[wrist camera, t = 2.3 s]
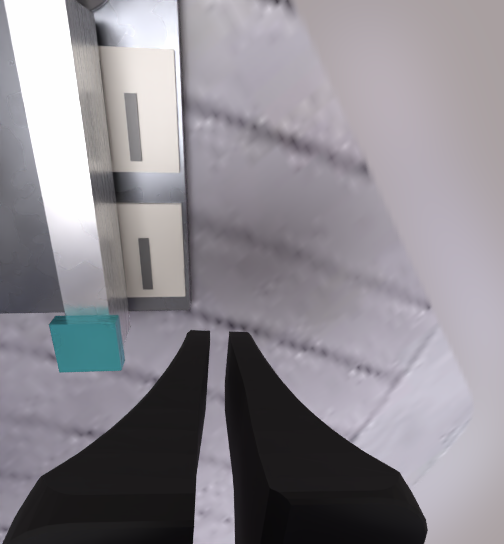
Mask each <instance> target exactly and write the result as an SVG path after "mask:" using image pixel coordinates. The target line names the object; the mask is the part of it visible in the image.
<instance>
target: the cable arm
mask: <svg viewBox="0 0 504 544" xmlns="http://www.w3.org/2000/svg"><path fill="white" fill-rule="evenodd" d="M4 4H5V9H6V14H7V19H8V24H9V29H10V34H11V39H12V45H13V50H14V55H15V60H16V65H17V70H18V75H19V80H20V86H21V91H22V96H23V101H24V106H25V111H26V116H27V121H28V126H29V132H30V137H31V142H32V147H33V152H34V157H35V162H36V167H37V172H38V178H39V183H40V188H41V193H42V198H43V203H44V208H45V213H46V218H47V224H48V229H49V234H50V239H51V244H52V249H53V254H54V259H55V264H56V270H57V275H58V280H59V285H60V290H61V295H62V300H63V305H64V310H65V316H55V317H54V319H53V320H52V321H51V323H50V324H49V327H50V331H51V336H52V341H53V345H54V350H55V354H56V359H57V363H58V368H59V372H89V371H121V370H122V367H123V364H124V362H125V358H124V350H123V346H124V343H125V340H126V338H127V335H128V332H129V330H130V327H131V326H130V317H129V309H128V300H127V291H126V283H125V274H124V266H123V257H122V249H121V240H120V232H119V223H118V214H117V206H116V197H115V189H114V180H113V172H112V163H111V155H110V146H109V137H108V129H107V120H106V112H105V103H104V95H103V86H102V78H101V69H100V60H99V52H98V43H97V35H96V26H95V18H94V14H93V13H92V12H91V11H89V10H88V9H87V8H85V7H84V6H82V5H81V4H80V3H78V2H77V1H76V0H4Z"/></svg>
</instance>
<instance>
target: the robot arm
mask: <svg viewBox="0 0 504 544" xmlns="http://www.w3.org/2000/svg"><path fill="white" fill-rule="evenodd" d="M209 349H210V331H198V330H190V331H189V332H188V333H187V335H186V338H185V340H184V342H183V344H182V346H181V348H180V349H179V351H178V353H177V355H176V356H175V358H174V359H173V361H172V362H171V364H170V365H169V367H168V368H167V369H166V371H165V372H164V373H163V375H162V376H161V377H160V379H159V380H158V381H157V382H156V384H155V385H154V386H153V387H152V389H151V390H150V391H149V392H148V393H147V394H146V395H145V397H144V398H143V399H142V400H141V401H140V402H139V403H138V404H137V405H136V406H135V407H134V408H133V409H132V410H131V411H130V412H129V413H128V414H127V415H125V416H124V417H123V418H122V419H121V420H120V421H119V422H118V423H117V424H116V425H114V426H113V427H112V428H111V429H110V430H108V431H107V432H106V433H105V434H103V435H102V436H101V437H99V438H98V439H97V440H95V441H94V442H93V443H92V444H90V445H89V446H88V447H86V448H85V449H84V450H82V451H81V452H79V453H78V454H76V455H75V456H73V457H72V458H70V459H68V460H67V461H65V462H64V463H62V464H61V465H59V466H57V467H56V468H54V469H53V470H51V471H49V472H48V473H46V474H44V475H42V476H41V477H40V478H39V480H38V481H37V483H36V484H35V486H34V487H33V489H32V490H31V492H30V493H29V495H28V497H27V498H26V500H25V502H24V503H23V505H22V506H21V508H20V509H19V511H18V513H17V515H16V516H15V518H14V520H13V522H12V524H11V526H10V528H9V531H8V533H7V535H6V537H5V539H4V541H3V543H2V544H193V532H194V514H195V494H196V474H197V467H198V460H199V453H200V446H201V439H202V432H203V425H204V418H205V410H206V395H207V380H208V365H209ZM225 415H226V424H227V432H228V441H229V449H230V457H231V466H232V474H233V486H234V515H235V544H424V542H425V538H426V534H427V531H428V530H427V523H426V519H425V517H424V515H423V513H422V511H421V509H420V507H419V505H418V503H417V501H416V499H415V497H414V496H413V494H412V492H411V490H410V488H409V487H408V485H407V484H406V482H405V481H404V479H403V477H402V476H401V474H400V472H398V471H397V470H395V469H393V468H392V467H390V466H388V465H386V464H385V463H383V462H381V461H379V460H378V459H376V458H374V457H372V456H371V455H369V454H367V453H366V452H364V451H362V450H361V449H359V448H358V447H356V446H355V445H354V444H352V443H351V442H349V441H348V440H346V439H345V438H343V437H342V436H341V435H339V434H338V433H336V432H335V431H334V430H332V429H331V428H330V427H329V426H327V425H326V424H325V423H324V422H323V421H321V420H320V419H319V418H318V417H316V416H315V415H314V414H313V413H312V412H311V411H310V410H309V409H308V408H307V407H305V406H304V405H303V404H302V403H301V402H300V401H299V400H298V399H297V398H296V397H295V395H294V394H293V393H292V392H291V391H290V390H289V389H288V388H287V386H286V385H285V384H284V383H283V382H282V380H281V379H280V378H279V377H278V375H277V374H276V373H275V371H274V370H273V369H272V367H271V366H270V365H269V363H268V362H267V360H266V359H265V358H264V356H263V355H262V353H261V351H260V350H259V348H258V347H257V345H256V343H255V342H254V340H253V338H252V336H251V335H250V334H249V333H248V332H229V342H228V353H227V364H226V376H225Z"/></svg>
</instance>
